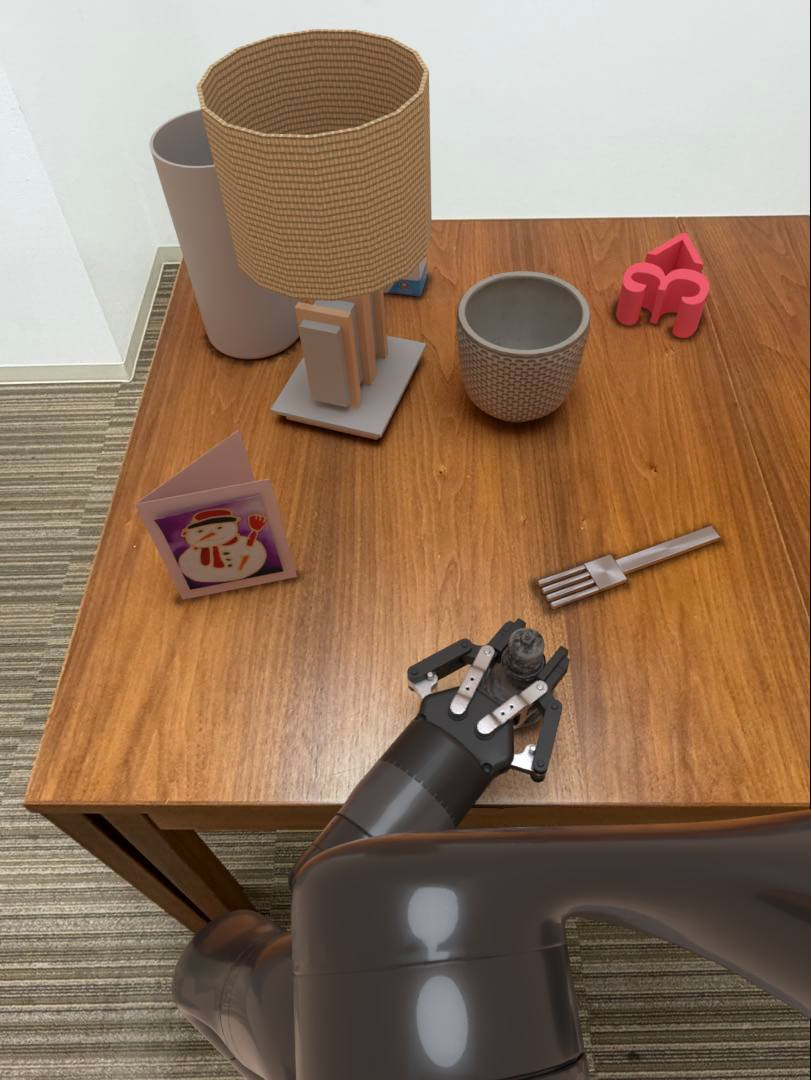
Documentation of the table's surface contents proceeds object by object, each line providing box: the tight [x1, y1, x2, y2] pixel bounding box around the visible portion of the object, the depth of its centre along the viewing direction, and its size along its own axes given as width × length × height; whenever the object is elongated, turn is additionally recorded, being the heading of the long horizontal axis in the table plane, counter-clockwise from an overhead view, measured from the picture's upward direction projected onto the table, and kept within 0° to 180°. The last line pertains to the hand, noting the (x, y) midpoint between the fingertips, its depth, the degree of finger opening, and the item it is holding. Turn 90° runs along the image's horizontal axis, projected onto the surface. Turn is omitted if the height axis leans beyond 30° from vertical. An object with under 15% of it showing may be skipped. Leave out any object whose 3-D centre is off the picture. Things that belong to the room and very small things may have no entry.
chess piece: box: [485, 627, 555, 729], centre depth 66 cm, size 6×6×12 cm
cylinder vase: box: [149, 108, 303, 360], centre depth 93 cm, size 12×12×25 cm
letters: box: [615, 232, 710, 339], centre depth 101 cm, size 14×10×5 cm
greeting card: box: [134, 428, 298, 600], centre depth 75 cm, size 11×7×15 cm, turn 102°
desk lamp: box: [195, 28, 433, 441], centre depth 81 cm, size 20×20×35 cm
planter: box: [456, 270, 592, 424], centre depth 88 cm, size 14×14×13 cm
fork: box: [536, 525, 721, 610], centre depth 79 cm, size 19×3×1 cm, turn 111°
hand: (542, 639), depth 66 cm, fingers closed on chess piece, 3 cm apart
